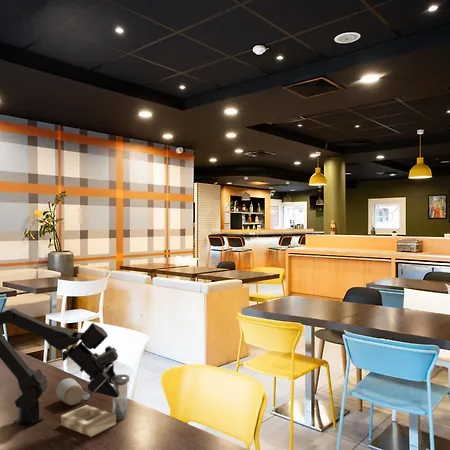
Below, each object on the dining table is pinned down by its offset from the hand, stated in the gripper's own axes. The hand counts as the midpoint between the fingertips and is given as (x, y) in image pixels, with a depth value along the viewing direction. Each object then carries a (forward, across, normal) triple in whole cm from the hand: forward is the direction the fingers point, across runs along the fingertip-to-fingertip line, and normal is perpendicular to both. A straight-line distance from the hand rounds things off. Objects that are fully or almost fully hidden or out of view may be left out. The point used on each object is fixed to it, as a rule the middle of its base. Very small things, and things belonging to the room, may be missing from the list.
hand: (119, 391), depth 140 cm
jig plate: (0, -5, +12) cm, 13 cm away
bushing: (+6, 0, +6) cm, 8 cm away
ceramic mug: (-6, +16, +19) cm, 25 cm away
